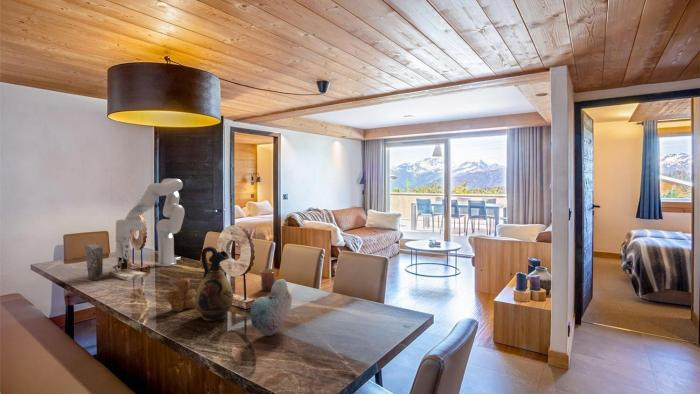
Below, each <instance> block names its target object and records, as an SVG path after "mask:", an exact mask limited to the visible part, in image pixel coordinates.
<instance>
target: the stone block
mask: <svg viewBox="0 0 700 394" xmlns="http://www.w3.org/2000/svg"><path fill="white" fill-rule="evenodd" d="M84 247H85V256H86V267H87V275H88V276H87V278H88V279H89V280H91V281H94V282H96V281H99V280H103V270H104V269H103V266H104V263H103V260H104V259H103V257H104V256H103V253H104V252H103V251H104V250H103V245H101V244H98V243H95V244H86V245H85V246H84Z"/></svg>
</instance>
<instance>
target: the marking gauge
mask: <svg viewBox="0 0 700 394" xmlns="http://www.w3.org/2000/svg"><path fill="white" fill-rule="evenodd" d="M124 258H125V257H124ZM125 259H126V258H125ZM121 263H122V260H120V261H118V262H117V264H116V265H114V266H112V269H115V271H116V272H117V270H118V266H119V267H120V268H119V270H123V271H125V270H127V269H132V267H133V266H132V264H131V261H130V258H129V259H128V262H127V269H121Z"/></svg>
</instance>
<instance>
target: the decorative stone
mask: <svg viewBox="0 0 700 394" xmlns="http://www.w3.org/2000/svg"><path fill="white" fill-rule="evenodd" d="M292 302H293V296H292V292H290V291H289V289H288V284H287V281H286V280H285V279H284V278H279V279H277V280H275V283H274V284H273V286H272V289H271V291H270V292H269V295H268V296H260V297H258V298H257V299H256V300H254V301H253V302H251V305H250V322H251V325H252V326H253V327H254V329H256V330H258V331H259V332H261V333H262V334H263V335H265V336H269V337H270V336H273V335H274V334H275V333H277V331H278V330H279V328H280V327H281V326H282V324H284V322H285V320H286V319H287V317H288V315H289V313H290V312H291V308H292Z"/></svg>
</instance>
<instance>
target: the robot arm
mask: <svg viewBox="0 0 700 394" xmlns="http://www.w3.org/2000/svg"><path fill="white" fill-rule="evenodd" d="M183 185H184V184H183V182H182V180H181V179H179V178H164V179H162V181H161V182H159V183H158V182H157V183H156V182H155V183H154V182H153V183H150V184H149V185H148V186H147V188H146V189H145V191H144V193H143V195H142V197H141V198H140V200H139V202H138V203H137V204H135V205H134V207H132V208H131V209H130V210H129V212H128V213H127V215H126V217H125V218H124V219H117V220H116V221H115V243H116V244H115V257H116V259H117V261H116V262H117V263H118V261H120V260H122V263H121V269H127V262H128V259H129V260H130V258H131V256H132V255H131V254H132V253H131V242H130V240H131V231H135V232H136V231H141V230H143V229H145V227H146V224H145V221H144V220H142V219H140V216H142V215H143V214H144V213H145V212H148V211H149V210H151V209H152V208H154V205H155V204H156V202H157V200H158V198H159V197H162V196H163V197H164V196H165V197H166V198H165V201H164V205H163V209H162V215H163V216H164V217H165V219H160V220H159V221H158V222H157V223H156V232H157V238H158V239H157V240H158V241H157V244H158V262H156V263H155V266H157V267H169V266H175V265H176V264H177V261H178V260H179V261H180V260H181V259H182V258H181V256H177V257H176V256H175V250H174V249H175V245H174V244H175V242H174V240H175V239H174V235H175V234H177V233H179V232H180V231H181V229H182V225H183V222H184V217H185V212H186V211H185V208H184V207H183V206H182V205H181V204H180V203H179V202H180V193H179V191H181V190H182V188H183ZM139 215H140V216H139ZM167 218H168V219H167ZM125 258H126V259H125ZM117 269H120V267H119V266H118V267H117ZM121 269H120V270H121Z"/></svg>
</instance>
